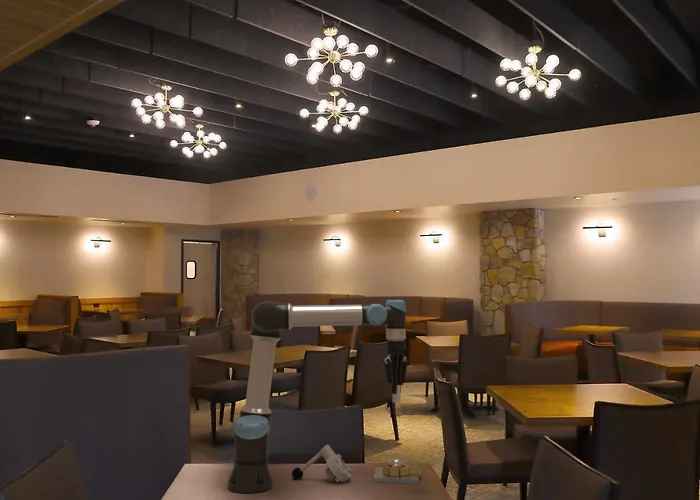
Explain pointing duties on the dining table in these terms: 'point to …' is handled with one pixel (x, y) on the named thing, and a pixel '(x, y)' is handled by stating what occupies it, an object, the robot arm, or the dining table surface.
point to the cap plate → (384, 478)
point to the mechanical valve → (327, 466)
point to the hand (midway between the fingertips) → (396, 402)
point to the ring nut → (406, 469)
